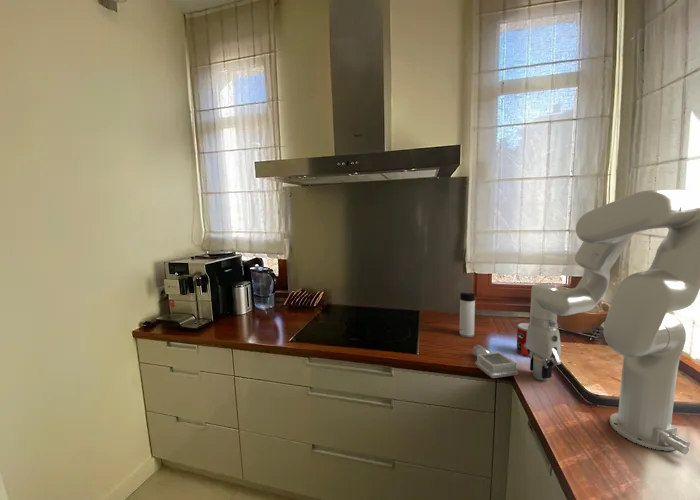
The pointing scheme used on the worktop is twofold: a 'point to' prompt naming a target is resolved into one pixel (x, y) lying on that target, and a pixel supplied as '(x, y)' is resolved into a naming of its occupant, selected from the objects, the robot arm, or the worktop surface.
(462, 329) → the travel mug
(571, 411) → the worktop surface
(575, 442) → the worktop surface
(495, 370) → the fitting
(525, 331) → the canned food
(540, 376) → the canister
